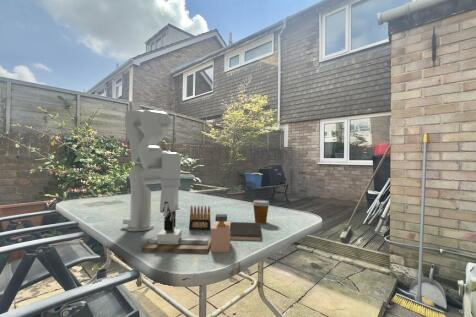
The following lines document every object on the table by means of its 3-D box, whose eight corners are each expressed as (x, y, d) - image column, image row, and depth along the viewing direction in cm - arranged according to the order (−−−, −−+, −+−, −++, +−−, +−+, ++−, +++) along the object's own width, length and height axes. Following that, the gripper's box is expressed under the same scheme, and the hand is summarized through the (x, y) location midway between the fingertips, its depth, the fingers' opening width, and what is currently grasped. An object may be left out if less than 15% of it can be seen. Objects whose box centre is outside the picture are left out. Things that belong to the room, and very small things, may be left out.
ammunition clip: (188, 229, 119) (189, 205, 119) (189, 228, 120) (190, 205, 121) (210, 230, 118) (210, 206, 118) (210, 229, 120) (211, 205, 120)
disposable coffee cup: (249, 220, 137) (249, 200, 137) (263, 219, 141) (263, 199, 142) (257, 225, 129) (257, 203, 129) (272, 223, 133) (272, 202, 133)
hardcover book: (259, 227, 127) (259, 222, 127) (261, 241, 104) (261, 236, 104) (229, 226, 128) (230, 221, 128) (224, 240, 105) (225, 235, 105)
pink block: (210, 252, 90) (211, 228, 90) (213, 242, 100) (214, 221, 100) (229, 252, 90) (229, 228, 90) (230, 243, 100) (230, 221, 100)
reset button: (215, 230, 93) (215, 216, 93) (216, 227, 98) (216, 214, 98) (226, 230, 93) (226, 216, 93) (227, 227, 97) (227, 214, 98)
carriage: (156, 244, 92) (157, 216, 92) (162, 238, 99) (163, 212, 99) (177, 245, 92) (177, 216, 92) (181, 239, 99) (182, 212, 99)
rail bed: (141, 251, 89) (141, 243, 89) (153, 240, 101) (153, 233, 101) (207, 253, 89) (207, 245, 89) (211, 242, 101) (211, 234, 101)
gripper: (167, 181, 104) (167, 223, 104) (153, 185, 87) (153, 235, 87) (184, 181, 104) (184, 223, 104) (174, 185, 87) (173, 235, 87)
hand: (169, 228), depth 95 cm, fingers closed on carriage, 3 cm apart
